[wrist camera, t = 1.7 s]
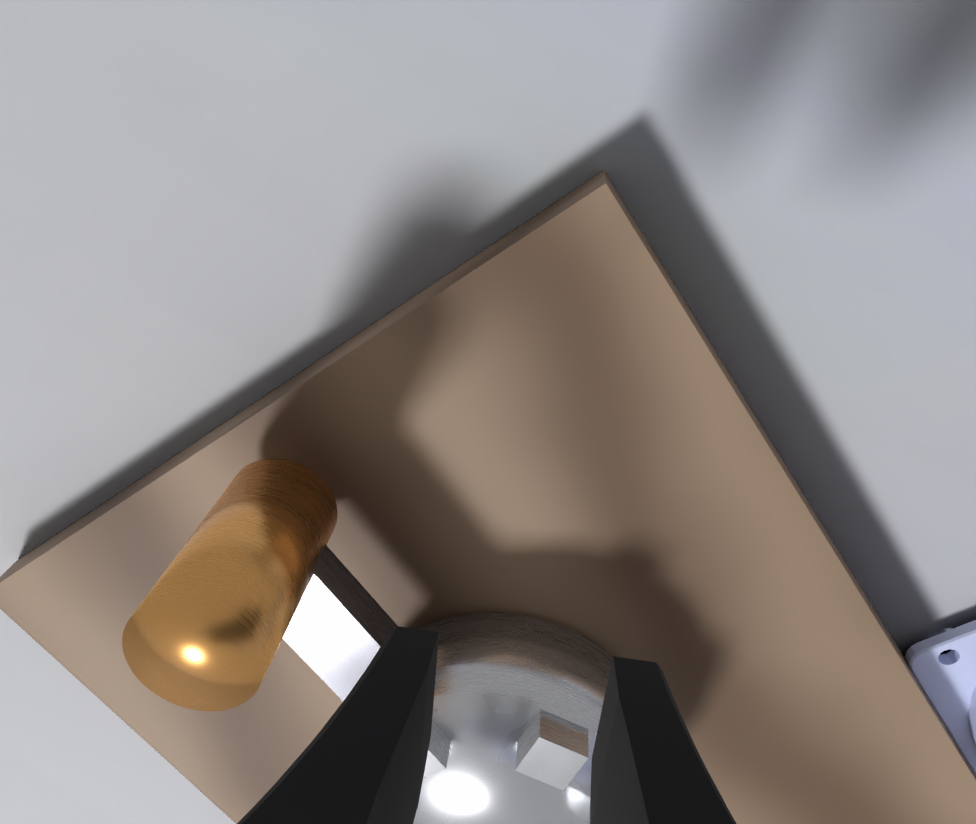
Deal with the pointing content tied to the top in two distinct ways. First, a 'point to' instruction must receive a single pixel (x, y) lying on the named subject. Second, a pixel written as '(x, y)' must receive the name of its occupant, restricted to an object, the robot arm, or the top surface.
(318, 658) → the crank handle wheel
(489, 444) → the plain tan brown board
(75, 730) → the top surface
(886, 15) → the top surface
